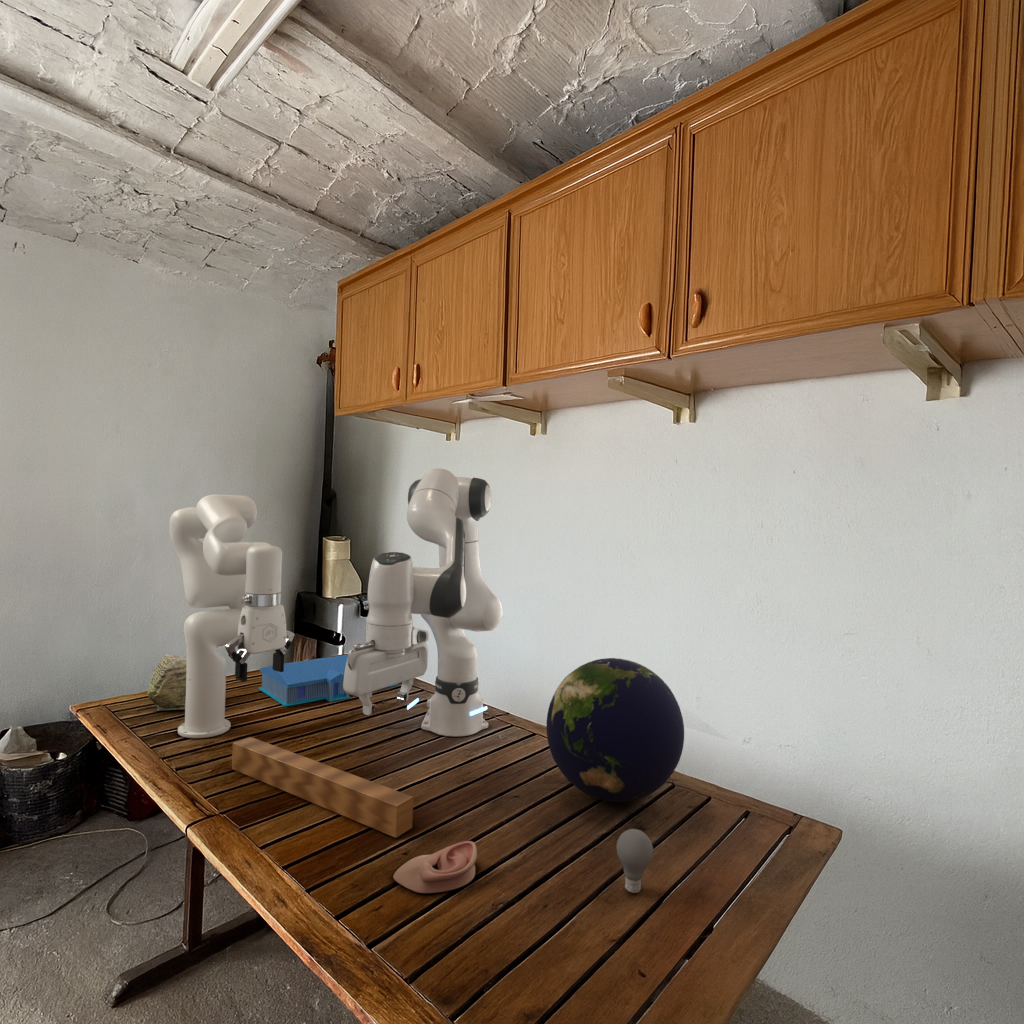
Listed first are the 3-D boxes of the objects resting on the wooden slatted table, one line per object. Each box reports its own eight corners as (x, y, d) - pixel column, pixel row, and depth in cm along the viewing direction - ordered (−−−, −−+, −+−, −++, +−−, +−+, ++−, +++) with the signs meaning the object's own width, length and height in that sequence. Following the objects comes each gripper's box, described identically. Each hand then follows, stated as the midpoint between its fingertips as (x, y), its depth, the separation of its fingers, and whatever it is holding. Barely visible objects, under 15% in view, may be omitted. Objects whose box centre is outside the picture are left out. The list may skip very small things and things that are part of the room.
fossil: (144, 707, 182) (145, 655, 182) (212, 696, 194) (213, 647, 194) (151, 716, 175) (153, 662, 175) (221, 703, 188) (223, 653, 188)
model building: (289, 709, 186) (291, 675, 185) (258, 688, 204) (259, 657, 204) (403, 687, 212) (405, 657, 212) (366, 670, 230) (368, 643, 230)
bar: (231, 768, 145) (232, 742, 145) (249, 762, 149) (250, 736, 149) (395, 838, 119) (397, 806, 119) (412, 827, 123) (413, 796, 123)
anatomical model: (386, 863, 103) (411, 828, 115) (385, 887, 104) (410, 850, 115) (465, 876, 101) (482, 839, 112) (463, 901, 101) (481, 861, 112)
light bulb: (610, 879, 108) (613, 822, 108) (644, 879, 109) (647, 822, 109) (619, 902, 102) (622, 840, 102) (655, 901, 103) (658, 840, 103)
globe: (523, 809, 132) (530, 666, 131) (566, 757, 160) (571, 639, 159) (669, 844, 121) (677, 688, 120) (688, 782, 148) (694, 654, 148)
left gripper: (239, 607, 134) (236, 687, 134) (304, 598, 149) (302, 670, 149) (217, 602, 138) (214, 680, 138) (283, 594, 153) (281, 665, 153)
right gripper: (361, 648, 113) (358, 725, 113) (434, 631, 130) (431, 698, 130) (336, 643, 116) (333, 718, 116) (410, 626, 133) (408, 692, 133)
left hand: (260, 675), depth 144 cm, fingers open, 9 cm apart
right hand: (386, 707), depth 123 cm, fingers open, 8 cm apart
